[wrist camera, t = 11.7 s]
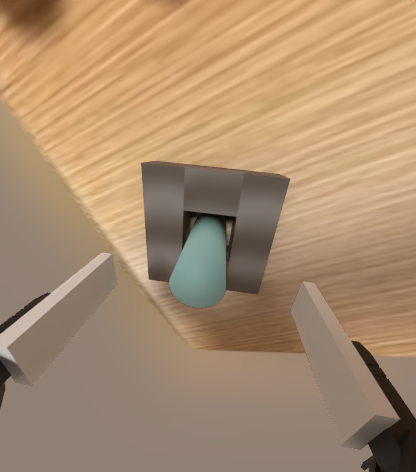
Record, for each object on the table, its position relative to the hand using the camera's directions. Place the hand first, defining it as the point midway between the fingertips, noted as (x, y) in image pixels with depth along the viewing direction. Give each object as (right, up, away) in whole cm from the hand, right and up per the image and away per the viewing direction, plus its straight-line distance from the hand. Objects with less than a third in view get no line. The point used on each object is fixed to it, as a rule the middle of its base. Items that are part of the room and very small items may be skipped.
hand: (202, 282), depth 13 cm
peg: (+1, +5, +11) cm, 12 cm away
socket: (+1, +5, +11) cm, 12 cm away
